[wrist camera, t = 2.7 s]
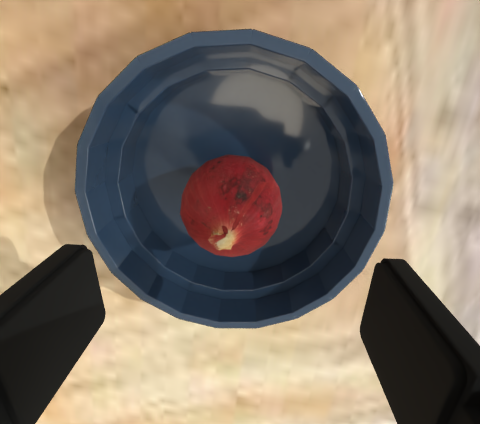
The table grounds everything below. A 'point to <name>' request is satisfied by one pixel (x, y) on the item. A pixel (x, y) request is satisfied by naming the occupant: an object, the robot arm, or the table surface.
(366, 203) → the bowl
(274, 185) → the onion
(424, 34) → the table surface
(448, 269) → the table surface
